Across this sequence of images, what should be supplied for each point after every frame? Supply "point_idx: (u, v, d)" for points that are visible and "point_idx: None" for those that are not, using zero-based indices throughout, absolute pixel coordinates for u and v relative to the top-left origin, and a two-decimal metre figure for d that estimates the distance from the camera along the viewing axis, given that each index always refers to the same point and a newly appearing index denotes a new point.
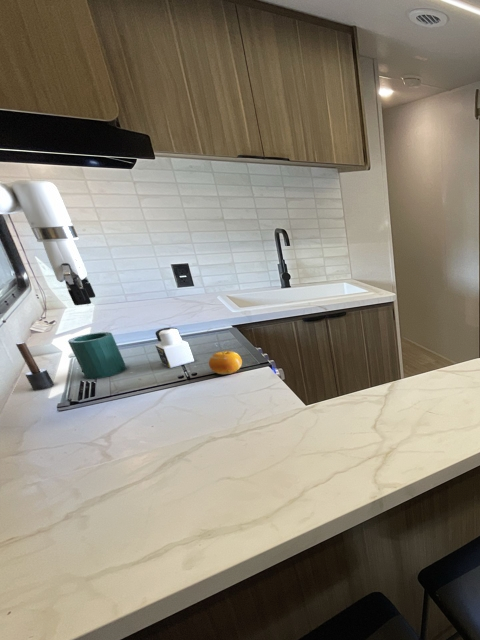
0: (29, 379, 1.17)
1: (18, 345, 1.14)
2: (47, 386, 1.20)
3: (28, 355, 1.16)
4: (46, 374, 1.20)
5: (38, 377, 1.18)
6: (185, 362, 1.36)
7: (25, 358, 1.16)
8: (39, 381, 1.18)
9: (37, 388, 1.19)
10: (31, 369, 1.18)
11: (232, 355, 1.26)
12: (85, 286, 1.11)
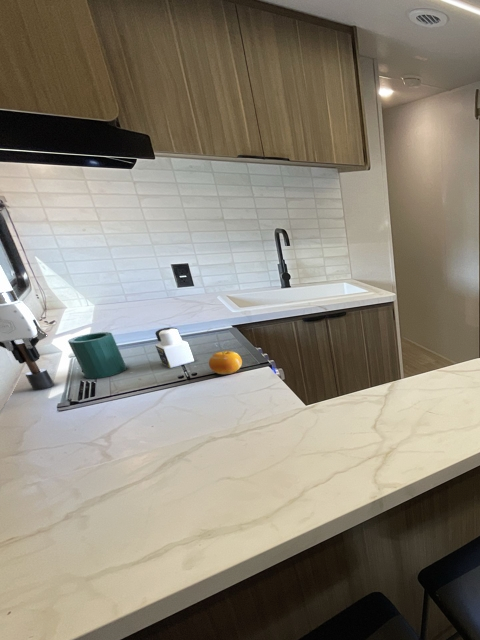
0: (29, 379, 1.17)
1: (18, 345, 1.14)
2: (47, 386, 1.20)
3: None
4: (46, 374, 1.20)
5: (38, 377, 1.18)
6: (185, 362, 1.36)
7: (25, 358, 1.16)
8: (39, 381, 1.18)
9: (37, 388, 1.19)
10: (31, 369, 1.18)
11: (232, 355, 1.26)
12: None
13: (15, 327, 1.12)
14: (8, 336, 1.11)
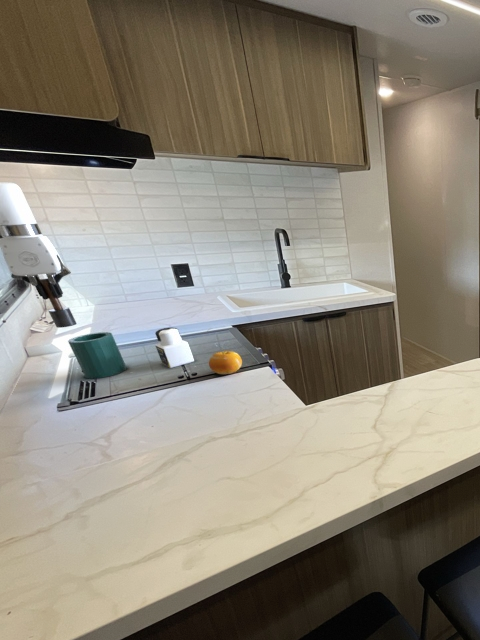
0: (53, 316, 1.18)
1: (42, 280, 1.15)
2: (70, 324, 1.20)
3: None
4: (69, 312, 1.20)
5: (62, 314, 1.18)
6: (185, 362, 1.36)
7: (49, 294, 1.16)
8: (62, 318, 1.19)
9: (60, 325, 1.19)
10: (54, 306, 1.18)
11: (232, 355, 1.26)
12: None
13: (39, 261, 1.12)
14: (32, 270, 1.12)
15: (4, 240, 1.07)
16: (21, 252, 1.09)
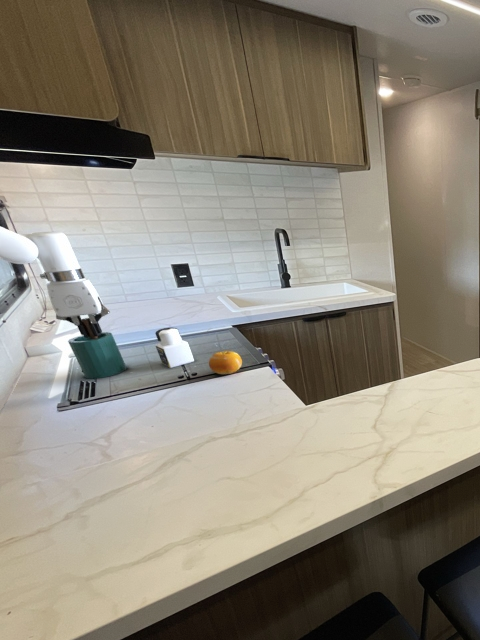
0: None
1: (84, 320, 1.22)
2: None
3: None
4: None
5: None
6: (185, 362, 1.36)
7: (89, 333, 1.24)
8: None
9: None
10: None
11: (232, 355, 1.26)
12: None
13: (82, 303, 1.19)
14: (76, 311, 1.19)
15: (51, 285, 1.15)
16: (66, 295, 1.17)
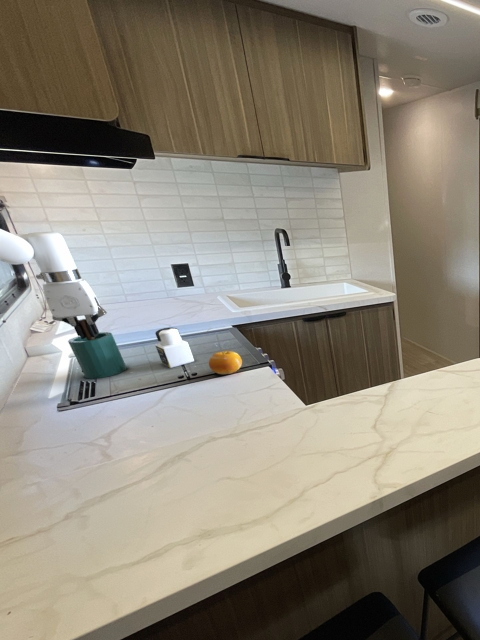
0: None
1: (80, 321, 1.21)
2: None
3: None
4: None
5: None
6: (185, 362, 1.36)
7: (86, 334, 1.23)
8: None
9: None
10: None
11: (232, 355, 1.26)
12: None
13: (79, 304, 1.19)
14: (72, 312, 1.18)
15: (47, 286, 1.14)
16: (62, 296, 1.16)
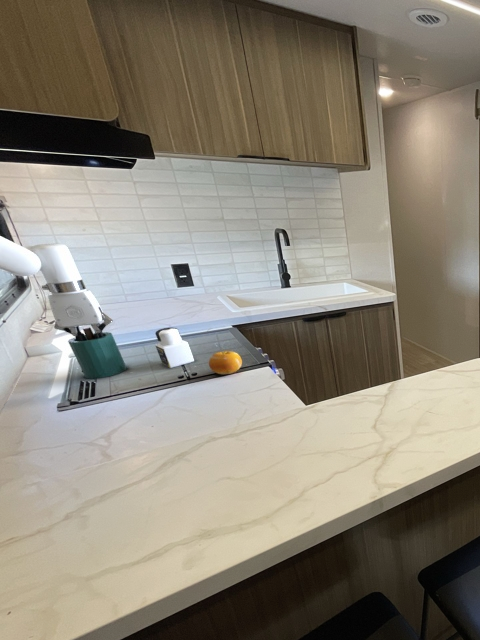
0: None
1: (85, 330, 1.24)
2: None
3: None
4: None
5: None
6: (185, 362, 1.36)
7: None
8: None
9: None
10: None
11: (232, 355, 1.26)
12: (83, 336, 1.25)
13: (84, 313, 1.21)
14: (77, 322, 1.21)
15: (53, 296, 1.17)
16: (68, 306, 1.19)
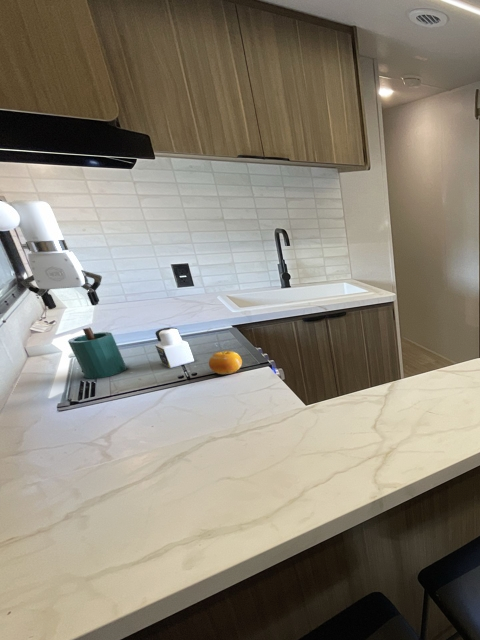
0: None
1: (85, 330, 1.24)
2: None
3: None
4: None
5: None
6: (185, 362, 1.36)
7: None
8: None
9: None
10: None
11: (232, 355, 1.26)
12: (50, 297, 1.18)
13: (65, 275, 1.16)
14: (58, 284, 1.16)
15: (33, 255, 1.12)
16: (48, 267, 1.14)
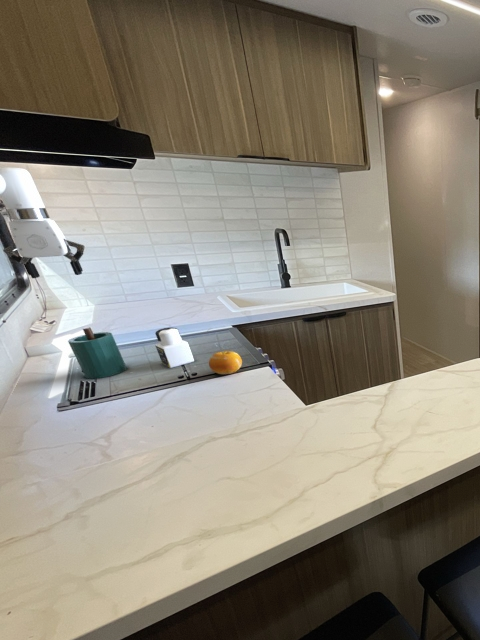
0: None
1: (85, 330, 1.24)
2: None
3: None
4: None
5: None
6: (185, 362, 1.36)
7: None
8: None
9: None
10: None
11: (232, 355, 1.26)
12: (33, 266, 1.19)
13: (47, 243, 1.17)
14: (40, 252, 1.17)
15: (14, 223, 1.12)
16: (30, 235, 1.14)
